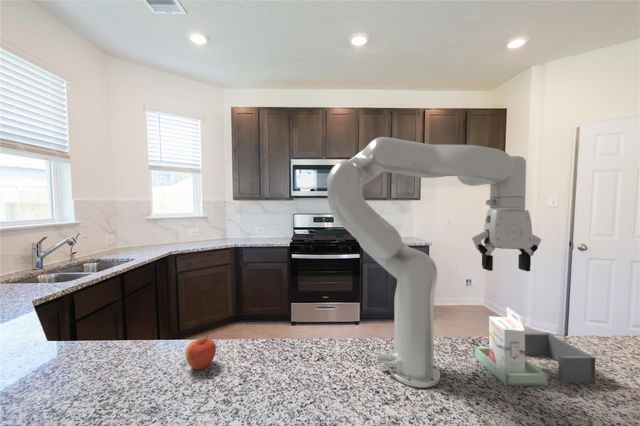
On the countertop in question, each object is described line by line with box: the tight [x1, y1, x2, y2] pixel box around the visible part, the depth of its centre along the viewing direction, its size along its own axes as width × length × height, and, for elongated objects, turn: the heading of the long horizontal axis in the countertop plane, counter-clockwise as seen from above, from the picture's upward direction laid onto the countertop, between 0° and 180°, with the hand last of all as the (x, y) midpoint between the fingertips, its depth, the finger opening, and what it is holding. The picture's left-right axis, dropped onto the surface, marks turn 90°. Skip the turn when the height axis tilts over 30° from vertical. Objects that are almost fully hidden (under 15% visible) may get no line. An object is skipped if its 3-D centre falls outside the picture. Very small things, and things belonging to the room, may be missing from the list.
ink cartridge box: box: [488, 306, 526, 373], centre depth 69 cm, size 9×5×15 cm, turn 171°
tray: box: [472, 346, 548, 387], centre depth 69 cm, size 10×13×2 cm
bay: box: [525, 332, 596, 384], centre depth 70 cm, size 8×13×6 cm, turn 0°
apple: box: [185, 335, 217, 371], centre depth 70 cm, size 7×7×8 cm
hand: (505, 269), depth 69 cm, fingers open, 9 cm apart
